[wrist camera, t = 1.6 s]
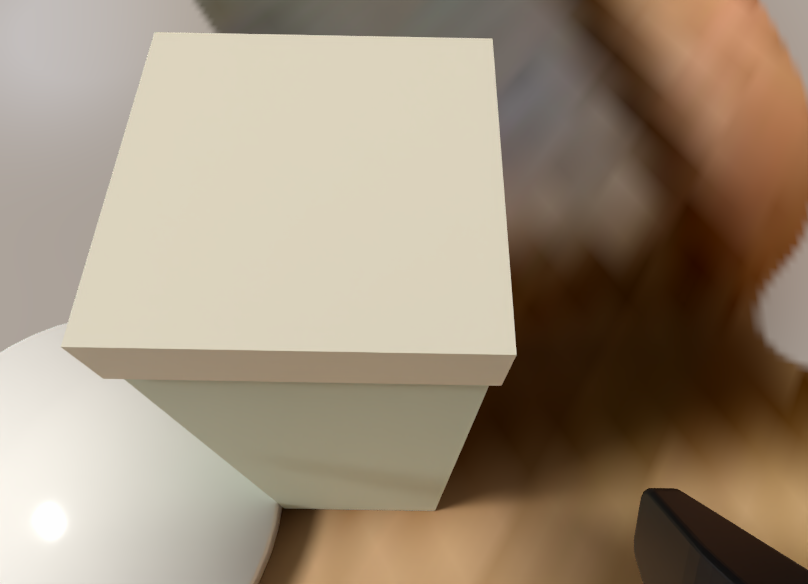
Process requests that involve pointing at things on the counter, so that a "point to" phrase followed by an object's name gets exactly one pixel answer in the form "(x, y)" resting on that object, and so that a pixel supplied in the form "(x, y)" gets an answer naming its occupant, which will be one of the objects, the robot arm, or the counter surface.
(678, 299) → the counter surface
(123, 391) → the plinth
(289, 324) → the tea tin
